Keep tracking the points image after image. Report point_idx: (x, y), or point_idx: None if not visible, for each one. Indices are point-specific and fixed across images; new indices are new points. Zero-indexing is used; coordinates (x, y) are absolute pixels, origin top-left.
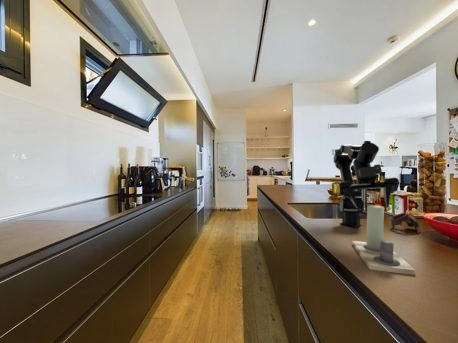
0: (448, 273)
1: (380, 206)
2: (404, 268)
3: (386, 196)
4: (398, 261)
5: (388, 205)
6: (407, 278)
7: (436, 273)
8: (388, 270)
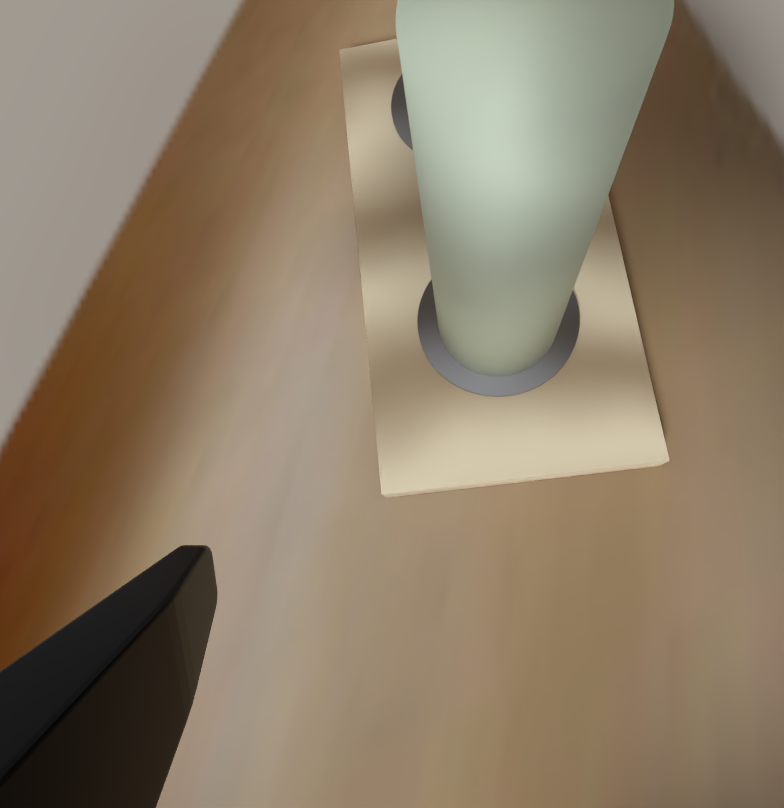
0: (171, 164)
1: (433, 83)
2: (387, 46)
3: (68, 690)
4: (393, 115)
5: (189, 546)
6: (394, 17)
7: (231, 138)
8: None
